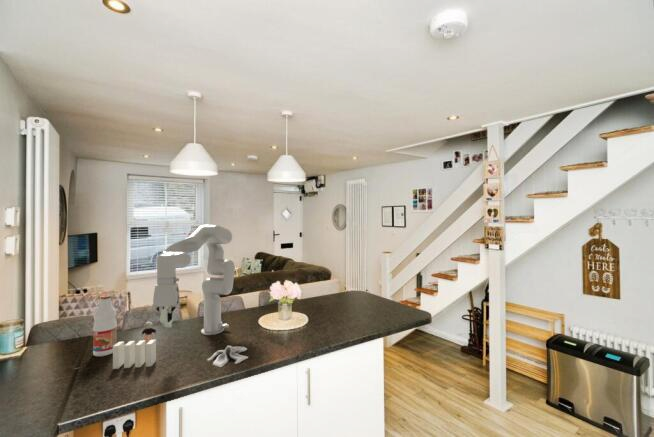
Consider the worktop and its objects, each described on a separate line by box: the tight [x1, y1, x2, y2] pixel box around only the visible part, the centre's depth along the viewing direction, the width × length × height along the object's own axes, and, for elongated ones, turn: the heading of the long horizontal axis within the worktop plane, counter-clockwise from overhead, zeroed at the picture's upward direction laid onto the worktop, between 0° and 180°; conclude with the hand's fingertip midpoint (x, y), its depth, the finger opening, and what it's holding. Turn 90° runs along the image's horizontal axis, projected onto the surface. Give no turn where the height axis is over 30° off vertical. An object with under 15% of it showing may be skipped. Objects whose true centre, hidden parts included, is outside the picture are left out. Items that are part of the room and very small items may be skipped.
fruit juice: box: [92, 294, 118, 357], centre depth 148 cm, size 9×9×28 cm
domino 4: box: [145, 339, 157, 368], centre depth 136 cm, size 2×5×10 cm, turn 9°
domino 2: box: [123, 340, 136, 369], centre depth 135 cm, size 2×5×10 cm, turn 9°
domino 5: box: [159, 308, 174, 329], centre depth 138 cm, size 2×5×10 cm
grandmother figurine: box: [140, 321, 158, 344], centre depth 156 cm, size 8×4×13 cm, turn 117°
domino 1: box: [112, 340, 125, 370], centre depth 134 cm, size 2×5×10 cm, turn 9°
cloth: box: [206, 345, 249, 368], centre depth 143 cm, size 22×19×6 cm
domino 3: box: [134, 339, 146, 368], centre depth 136 cm, size 2×5×10 cm, turn 9°
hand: (166, 321), depth 137 cm, fingers closed on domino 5
